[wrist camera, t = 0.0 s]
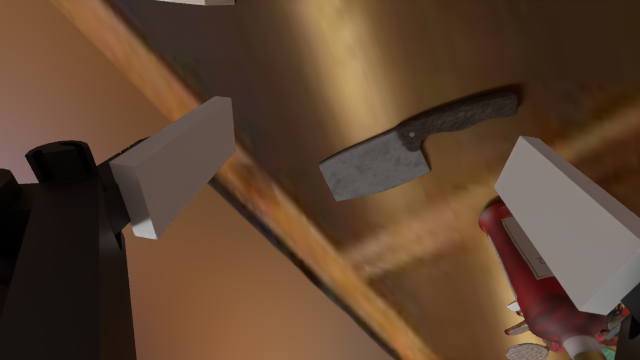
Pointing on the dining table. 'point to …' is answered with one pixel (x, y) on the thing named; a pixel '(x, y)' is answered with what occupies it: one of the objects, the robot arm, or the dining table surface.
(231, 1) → the tile
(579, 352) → the dark red glass bottle
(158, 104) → the dining table surface
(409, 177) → the cleaver
